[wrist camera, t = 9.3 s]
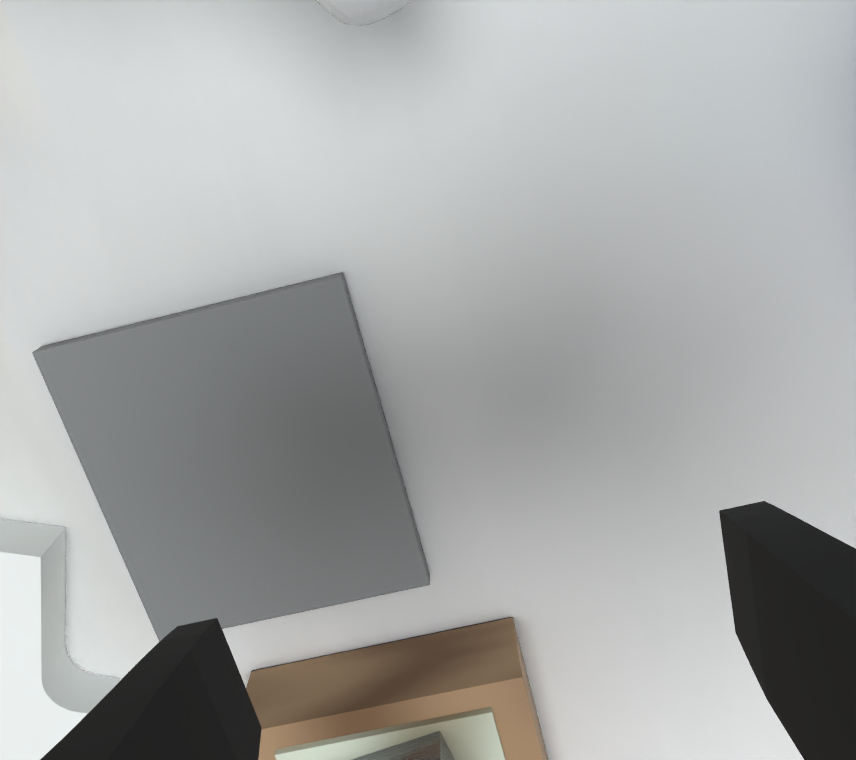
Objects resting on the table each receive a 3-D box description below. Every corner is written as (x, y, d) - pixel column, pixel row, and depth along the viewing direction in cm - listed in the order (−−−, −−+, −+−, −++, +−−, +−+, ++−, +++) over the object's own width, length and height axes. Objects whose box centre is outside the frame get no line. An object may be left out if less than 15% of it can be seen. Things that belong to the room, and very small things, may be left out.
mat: (342, 272, 19) (340, 276, 19) (429, 574, 22) (429, 584, 22) (41, 346, 20) (32, 352, 19) (165, 630, 23) (159, 642, 22)
